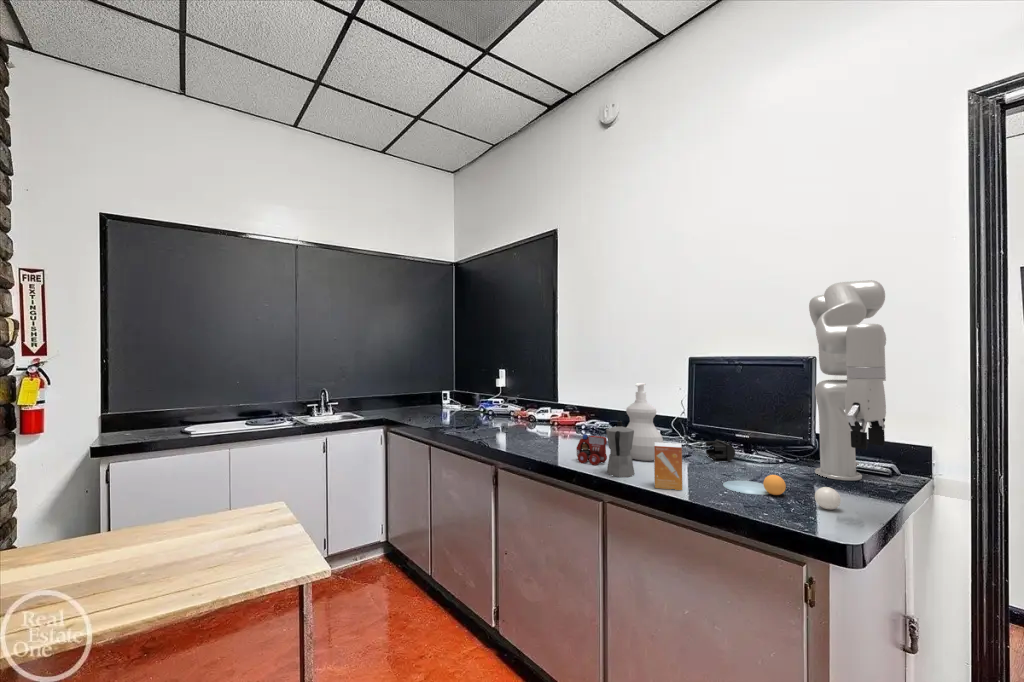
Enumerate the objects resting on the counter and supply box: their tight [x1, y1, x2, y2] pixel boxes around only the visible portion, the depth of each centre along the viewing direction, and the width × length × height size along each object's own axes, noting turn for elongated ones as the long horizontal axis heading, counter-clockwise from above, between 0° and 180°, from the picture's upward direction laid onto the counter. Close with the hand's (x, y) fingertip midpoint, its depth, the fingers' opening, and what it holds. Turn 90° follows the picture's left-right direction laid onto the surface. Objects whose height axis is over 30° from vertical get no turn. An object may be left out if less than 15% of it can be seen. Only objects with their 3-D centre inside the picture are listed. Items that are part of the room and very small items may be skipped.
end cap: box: [705, 439, 736, 462], centre depth 174 cm, size 10×7×7 cm
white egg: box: [814, 486, 842, 511], centre depth 118 cm, size 6×6×6 cm
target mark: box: [722, 479, 771, 496], centre depth 137 cm, size 14×14×1 cm
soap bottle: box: [625, 382, 664, 462], centre depth 176 cm, size 17×12×29 cm
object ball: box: [762, 474, 787, 496], centre depth 131 cm, size 6×6×6 cm
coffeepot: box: [605, 420, 635, 478], centre depth 154 cm, size 15×9×18 cm, turn 160°
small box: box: [653, 442, 683, 491], centre depth 139 cm, size 8×6×13 cm
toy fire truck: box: [576, 433, 608, 466], centre depth 171 cm, size 7×12×10 cm, turn 49°
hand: (868, 446), depth 110 cm, fingers open, 7 cm apart
